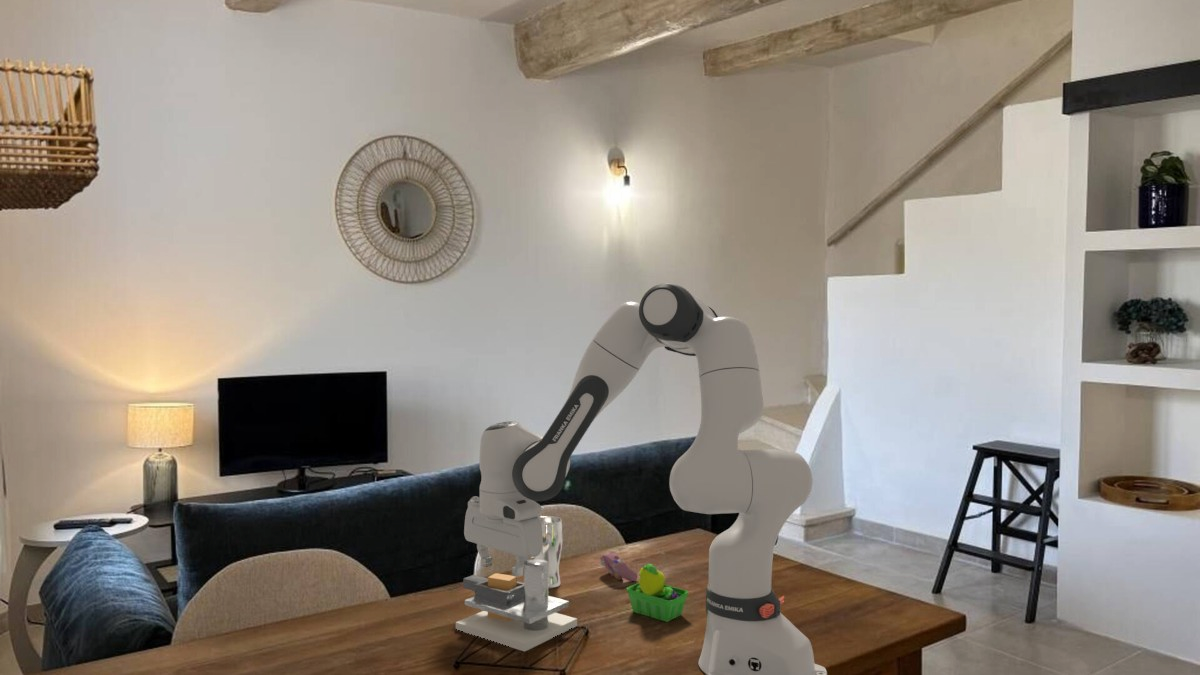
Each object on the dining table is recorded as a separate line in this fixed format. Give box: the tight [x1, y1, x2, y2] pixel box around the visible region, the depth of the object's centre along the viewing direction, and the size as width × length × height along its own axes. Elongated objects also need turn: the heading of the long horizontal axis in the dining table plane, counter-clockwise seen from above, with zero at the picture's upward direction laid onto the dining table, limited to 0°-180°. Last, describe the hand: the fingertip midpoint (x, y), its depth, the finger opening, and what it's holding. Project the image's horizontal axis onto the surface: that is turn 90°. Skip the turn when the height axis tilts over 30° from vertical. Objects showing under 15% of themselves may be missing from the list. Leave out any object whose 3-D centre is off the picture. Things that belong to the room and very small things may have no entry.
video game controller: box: [599, 551, 638, 582], centre depth 211 cm, size 10×5×7 cm, turn 26°
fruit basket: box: [626, 563, 689, 623], centre depth 186 cm, size 11×9×11 cm
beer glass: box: [533, 515, 564, 590], centre depth 205 cm, size 7×7×15 cm
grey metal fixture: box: [462, 559, 570, 631], centre depth 180 cm, size 22×12×12 cm, turn 54°
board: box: [455, 610, 578, 652], centre depth 179 cm, size 18×16×2 cm
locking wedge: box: [487, 572, 518, 620], centre depth 181 cm, size 5×3×8 cm, turn 65°
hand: (501, 570), depth 181 cm, fingers open, 8 cm apart
